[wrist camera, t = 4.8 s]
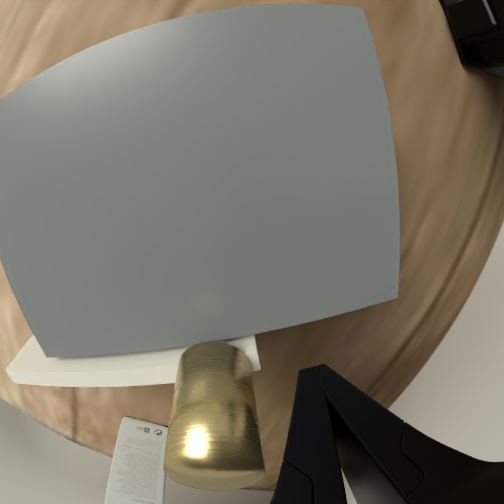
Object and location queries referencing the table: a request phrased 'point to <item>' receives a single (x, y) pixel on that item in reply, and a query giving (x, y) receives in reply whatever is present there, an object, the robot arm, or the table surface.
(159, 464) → the skincare box
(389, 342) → the table surface
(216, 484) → the side door
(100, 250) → the case
